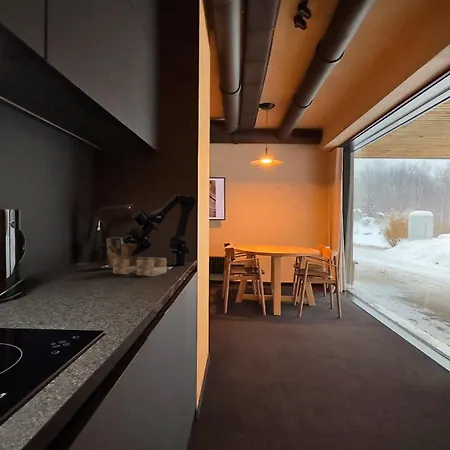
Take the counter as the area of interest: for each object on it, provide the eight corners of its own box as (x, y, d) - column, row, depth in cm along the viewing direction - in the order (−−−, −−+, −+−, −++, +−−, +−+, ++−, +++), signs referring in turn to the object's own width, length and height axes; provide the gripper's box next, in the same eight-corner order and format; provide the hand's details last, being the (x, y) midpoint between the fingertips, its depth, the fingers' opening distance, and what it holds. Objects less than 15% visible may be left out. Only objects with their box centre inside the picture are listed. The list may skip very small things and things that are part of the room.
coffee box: (128, 266, 217) (127, 237, 216) (121, 268, 211) (121, 238, 210) (113, 266, 220) (112, 237, 219) (106, 267, 213) (106, 238, 213)
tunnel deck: (113, 273, 194) (112, 258, 194) (128, 269, 204) (128, 256, 204) (152, 276, 183) (152, 261, 183) (166, 272, 194) (166, 258, 193)
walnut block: (130, 265, 200) (129, 243, 200) (135, 265, 197) (135, 243, 196) (121, 266, 196) (121, 244, 196) (127, 267, 193) (126, 244, 193)
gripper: (124, 220, 205) (106, 243, 198) (146, 221, 193) (127, 245, 185) (137, 235, 212) (120, 257, 204) (159, 236, 199) (142, 260, 191)
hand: (126, 255), depth 196 cm, fingers open, 9 cm apart
